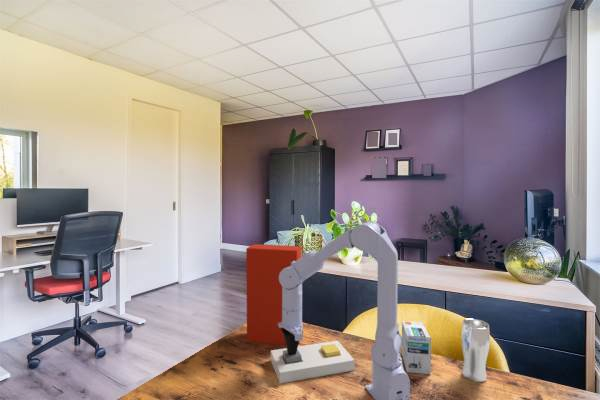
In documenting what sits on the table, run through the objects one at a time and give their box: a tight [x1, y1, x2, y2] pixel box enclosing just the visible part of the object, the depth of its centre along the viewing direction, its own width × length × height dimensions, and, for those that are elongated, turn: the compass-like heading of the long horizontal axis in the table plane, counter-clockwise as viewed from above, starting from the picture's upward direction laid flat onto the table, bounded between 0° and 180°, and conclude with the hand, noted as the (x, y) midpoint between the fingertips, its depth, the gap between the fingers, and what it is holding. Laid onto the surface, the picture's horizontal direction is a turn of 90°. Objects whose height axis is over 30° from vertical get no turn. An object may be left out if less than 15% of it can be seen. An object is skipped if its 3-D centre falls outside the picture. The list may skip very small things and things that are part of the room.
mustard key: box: [321, 344, 340, 358], centre depth 96 cm, size 4×4×3 cm
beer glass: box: [460, 318, 491, 383], centre depth 89 cm, size 7×7×15 cm
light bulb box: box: [401, 320, 432, 375], centre depth 96 cm, size 11×7×11 cm, turn 171°
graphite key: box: [283, 349, 301, 364], centre depth 93 cm, size 4×4×3 cm
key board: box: [270, 340, 356, 384], centre depth 95 cm, size 12×22×3 cm, turn 107°
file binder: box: [245, 243, 303, 346], centre depth 110 cm, size 8×17×32 cm, turn 78°
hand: (291, 353), depth 93 cm, fingers closed, pressing on graphite key
